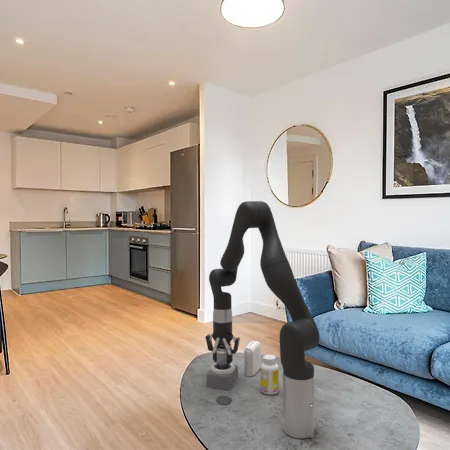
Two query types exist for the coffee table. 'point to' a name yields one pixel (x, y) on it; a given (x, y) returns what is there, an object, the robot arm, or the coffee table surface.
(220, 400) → the lens cap
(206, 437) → the coffee table surface
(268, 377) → the supplement bottle
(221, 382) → the camera body
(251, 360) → the photo printer
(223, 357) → the lens
